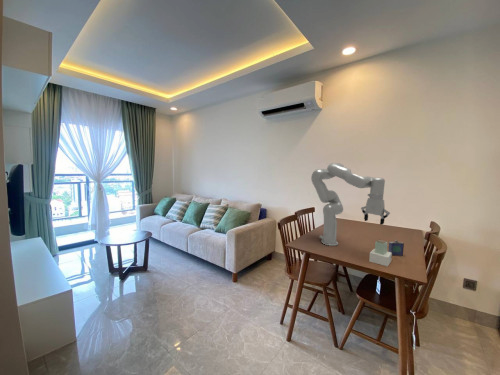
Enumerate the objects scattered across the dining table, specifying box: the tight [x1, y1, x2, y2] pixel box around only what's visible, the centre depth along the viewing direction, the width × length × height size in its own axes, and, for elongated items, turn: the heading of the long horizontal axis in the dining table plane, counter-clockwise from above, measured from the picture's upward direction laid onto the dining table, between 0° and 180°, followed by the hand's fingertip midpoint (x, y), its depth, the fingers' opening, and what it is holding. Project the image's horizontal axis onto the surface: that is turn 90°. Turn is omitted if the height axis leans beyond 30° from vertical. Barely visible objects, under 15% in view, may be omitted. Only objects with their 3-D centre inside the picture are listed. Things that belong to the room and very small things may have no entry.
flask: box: [387, 239, 405, 257], centre depth 144 cm, size 9×3×11 cm, turn 83°
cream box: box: [368, 248, 393, 267], centre depth 134 cm, size 10×10×6 cm
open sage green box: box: [374, 239, 389, 255], centre depth 133 cm, size 5×5×8 cm
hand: (373, 222), depth 138 cm, fingers open, 9 cm apart
